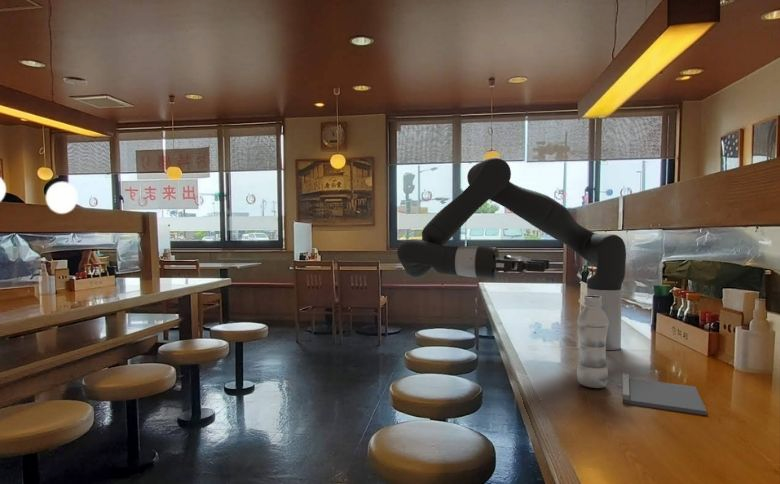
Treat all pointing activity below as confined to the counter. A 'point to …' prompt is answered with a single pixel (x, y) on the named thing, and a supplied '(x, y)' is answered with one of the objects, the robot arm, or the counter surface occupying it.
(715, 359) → the counter surface
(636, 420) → the counter surface
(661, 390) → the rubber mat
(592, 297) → the silver aluminum bottle
